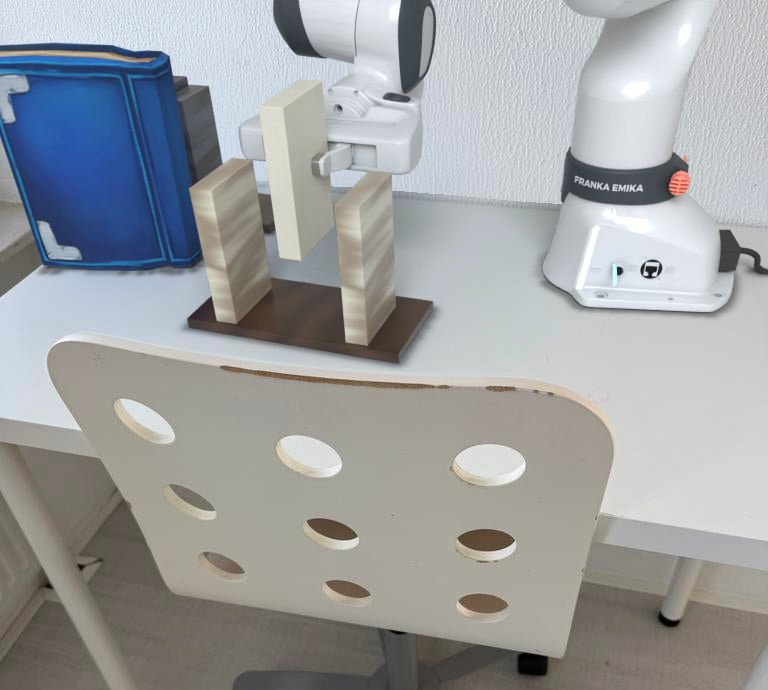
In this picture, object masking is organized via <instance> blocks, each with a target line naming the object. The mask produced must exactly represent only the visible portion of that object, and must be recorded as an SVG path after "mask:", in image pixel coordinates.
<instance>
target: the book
mask: <svg viewBox="0 0 768 690" xmlns="http://www.w3.org/2000/svg"><path fill="white" fill-rule="evenodd" d="M171 61H172V60H171V56H170V55H169V54H168V53H166V52H164V51H163V50H148V49H147V50H136V51H135V50H131V49H127V48H123V47H120V46H116V45H114V44H95V43H75V42H74V43H73V42H42V43H40V42H39V43H18V44H0V141H1V144H2V147H3V150H4V153H5V155H6V159H7V162H8V164H9V168H10V171H11V174H12V177H13V180H14V183H15V185H16V189H17V191H18V194H19V198H20V200H21V203H22V206H23V210H24V212H25V215H26V219H27V222H28V224H29V226H30V230H31V234H32V236H33V239H34V242H35V245H36V248H37V251H38V254H39V258H40V261H41V263H42V265H43V266H44V267H45V266H46V267H57V268H68V269H69V268H71V269H80V270H91V271H92V270H93V271H148V270H153V269H156V268H161V267H166V266H167V267H172V268H176V269H177V268H190V267H191V266H192V265H193V264H195V263H196V262H197V261H198V260H199V259H201V257H203V252H202V248H201V243H200V238H199V233H198V229H197V224H196V219H195V214H194V210H193V205H192V200H191V196H190V191H189V188H190V187H192V180H191V174H190V169H189V163H188V157H187V152H186V146H185V141H184V135H183V129H182V124H181V118H180V112H179V107H178V101H177V95H176V90H175V84H174V78H173V76H174V74H173V67H172V62H171Z"/></svg>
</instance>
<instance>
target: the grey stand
mask: <svg viewBox="0 0 768 690" xmlns="http://www.w3.org/2000/svg"><path fill="white" fill-rule="evenodd" d="M173 78H174V84H175V90H176V95H177V101H178V107H179V112H180V118H181V124H182V129H183V135H184V141H185V146H186V152H187V157H188V163H189V169H190V174H191V180H192V186H193V185H195V184H196V183H197V182H199V181H200V180H202V179H203V178H204V177H206V176H207V175H209V174H210V173H211V172H213V171H214V170H216V169H217V168H218V167H220V166H221V165H222V164H224V163H223V157H222V151H221V146H220V140H219V135H218V130H217V124H216V117H215V113H214V106H213V102H212V95H211V90H210V86H209V85H201V84H189V80H188V76H185V75H173ZM258 198H259V205H260V212H261V218H262V225H263V231H264V234H272V232H273V231H274V230H276V229H275V222H274V215H273V207H272V200H271V193H270V194H269V193H261V192H258Z"/></svg>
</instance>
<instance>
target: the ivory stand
mask: <svg viewBox="0 0 768 690" xmlns="http://www.w3.org/2000/svg"><path fill="white" fill-rule="evenodd" d="M255 172H256V171H255V166H254V160H249V159H246V158H238V157H237V158H236V157H231V158H230V159H228V160H226V161H225V162H224V163H223V164H222V165H221V166H220V167H218V168H217V169H216V170H214V171H213V172H211V173H210V174H209V175H207V176H206V177H204V178H203V179H202V180H200V181H199V182H197V183H196V184H195V185H193V186H192V187H190V188H189V191H190V196H191V200H192V205H193V210H194V214H195V219H196V224H197V229H198V233H199V238H200V243H201V248H202V257H203V262H204V266H205V270H206V275H207V280H208V285H209V289H210V290H209V291H210V297H209V298H207V299H206V300H205V301H204V302H203V303H202V304H200V306H199V307H198V308H197V309H195V310H194V311H193V312H192V313H191V314H190V315H189V316H188V317H187V318H186V321H187V325H188V328H189V329H195V330H200V331H205V332H212V333H218V334H224V335H229V336H235V337H241V338H246V339H253V340H259V341H263V342H269V343H276V344H282V345H288V346H294V347H300V348H305V349H311V350H316V351H322V352H327V353H332V354H333V353H334V354H340V355H346V356H351V357H357V358H363V359H369V360H375V361H381V362H386V363H393V364H396V365H397V364H400V362H401V361H402V359H403V358H404V356H405V354H406V353H407V351H408V350H409V349H410V347H411V345H412V343H413V342H414V340H415V339H416V337H418V334H419V333H420V332H421V330H422V328H423V327H424V325H425V323H426V322H427V321H428V319H429V318H430V316H431V314H432V312H433V311H434V301H433V300H429V299H420V298H416V297H415V298H414V297H407V296H403V295H396V271H395V270H396V268H395V267H396V266H395V264H396V263H395V239H394V237H395V236H394V235H395V233H394V204H393V203H394V202H393V201H394V200H393V174H391V173H381V172H371V171H368V172H365V174H364V175H363V176H361V178H360V179H359V180H358V181H357V182H356V183H355V184H354V185H352V187H351V188H350V189H349V190H347V192H346V193H345V194H343V196H342V197H340V199H339V200H337V202H335V203H334V204H333V209H334V221H335V230H336V241H337V243H336V244H337V253H338V254H337V256H338V266H339V279H340V287H339V286H333V285H327V284H326V285H325V284H318V283H312V282H306V281H299V280H291V279H284V278H277V277H272V276H271V273H270V265H269V258H268V252H267V244H266V239H265V238H266V237H265V233H264V231H263V225H262V218H261V212H260V205H259V198H258V193H259V192H258V186H257V180H256V179H257V178H256V173H255Z"/></svg>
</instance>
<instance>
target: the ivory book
mask: <svg viewBox="0 0 768 690" xmlns="http://www.w3.org/2000/svg"><path fill="white" fill-rule="evenodd" d="M323 92H324V86H323V80H317V79H301V78H299V79H297V80H296V81H294V82H293V83H291V84H290V85H288V86H286V87H285V88H284V89H282V90H281V91H279V92H277V93H276V94H274V95H273V96H271V97H270V98H268V99H267V100H265V101H264V102H262V103H261V104H259V105H258V114H260V122H261V129H262V136H263V143H264V150H265V157H266V161H265V163H266V171H267V178H268V179H267V180H268V185H269V193H270V195H271V200H272V207H273V215H274V222H275V229H274V230H275V235H276V236H275V237H276V242H277V249H278V250H277V251H278V257H279V259H284V260H285V259H286V260H290V261H292V260H293V261H299V262H302V261H303V260H304V259H305V258H306V256H307V255H309V254H310V253H311V252H312V250H314V248H315V247H317V246H318V244H319V243H320V242H321V241H322V240H323V239H324V238H325V237H326V236H327V235H328V234H329V233H330V232H331V231H332V230H333V229H335V214H334V204H333V203H334V202H333V191H332V181H331V180H332V179H331V173H330V174H329V175H327V176H326V177H323V176H315V175H313V174H312V166H311V159H312V158H313V157H314V156H315V155H316V154H317V153H322V154H325V153H327V152H328V144H327V132H326V121H325V109H324V97H323Z"/></svg>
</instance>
